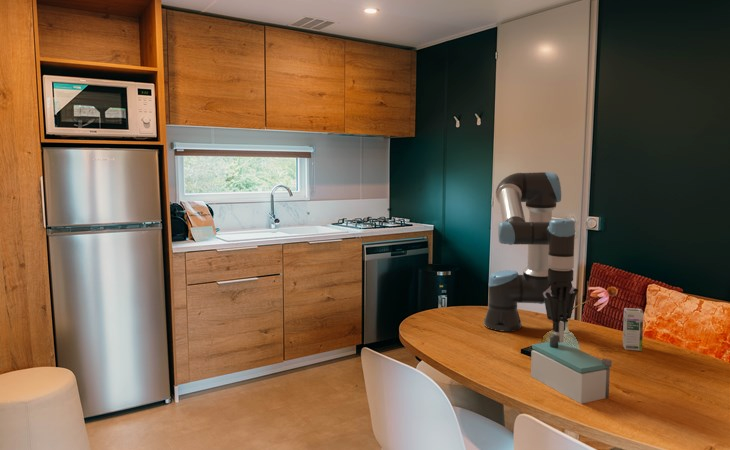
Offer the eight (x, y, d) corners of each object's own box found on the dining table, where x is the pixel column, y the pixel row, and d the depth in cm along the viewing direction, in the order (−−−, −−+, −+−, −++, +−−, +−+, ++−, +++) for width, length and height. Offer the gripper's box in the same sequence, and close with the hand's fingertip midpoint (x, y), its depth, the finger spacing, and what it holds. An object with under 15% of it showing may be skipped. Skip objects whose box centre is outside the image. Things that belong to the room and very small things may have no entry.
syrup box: (624, 349, 190) (626, 311, 188) (622, 344, 195) (623, 306, 193) (642, 351, 188) (644, 312, 186) (639, 346, 193) (641, 308, 192)
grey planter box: (557, 371, 171) (557, 345, 170) (610, 397, 151) (611, 369, 150) (530, 376, 167) (531, 350, 166) (581, 404, 147) (582, 375, 146)
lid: (560, 343, 171) (560, 329, 170) (613, 368, 150) (614, 352, 149) (531, 348, 167) (532, 333, 166) (582, 373, 146) (583, 357, 145)
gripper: (568, 264, 169) (565, 334, 171) (535, 268, 164) (534, 340, 167) (585, 268, 162) (583, 341, 165) (552, 272, 157) (550, 347, 160)
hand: (558, 341), depth 166 cm, fingers closed
